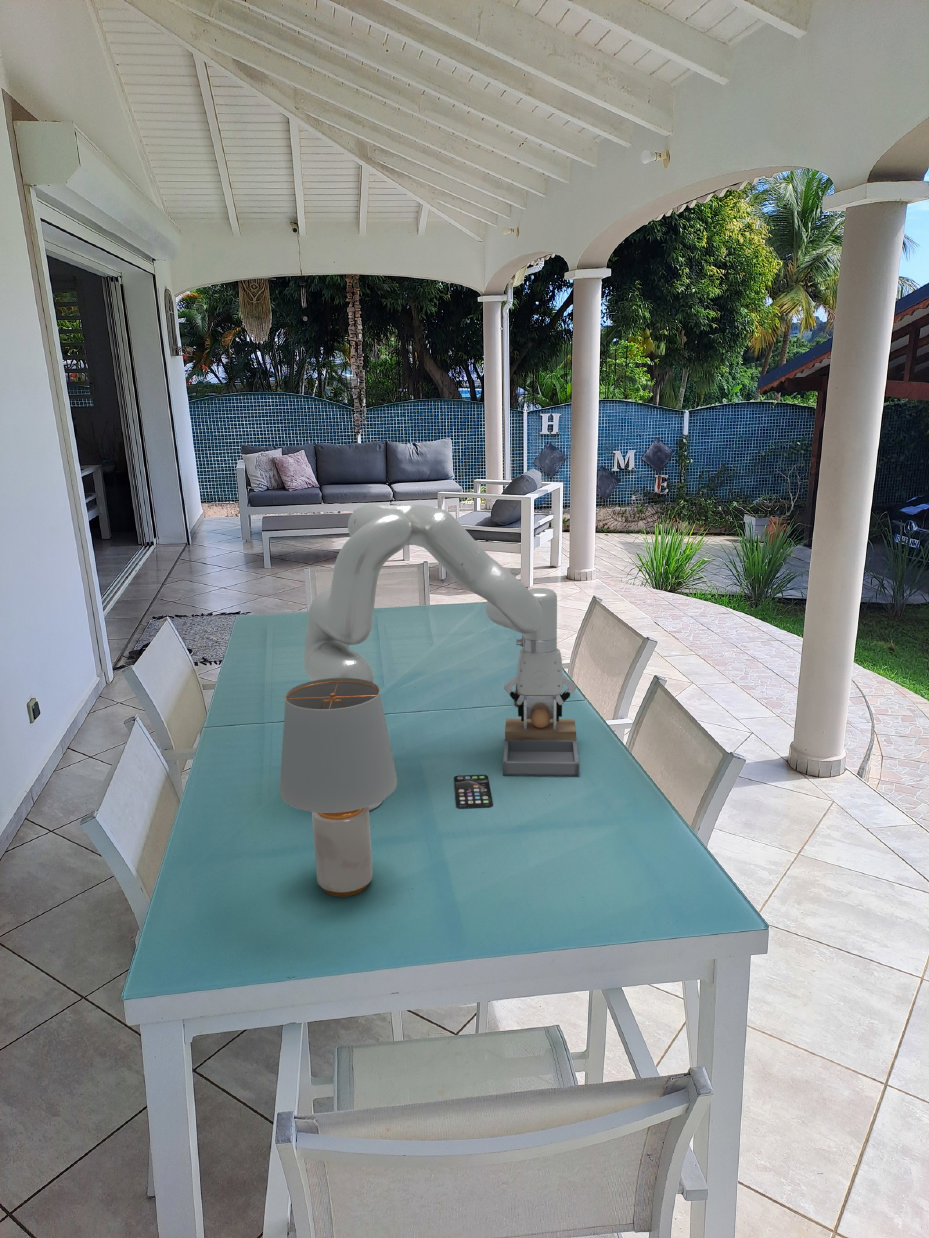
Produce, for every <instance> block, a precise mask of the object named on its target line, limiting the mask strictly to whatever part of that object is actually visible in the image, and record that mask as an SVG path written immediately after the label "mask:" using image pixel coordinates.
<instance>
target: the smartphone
mask: <svg viewBox="0 0 929 1238" xmlns="http://www.w3.org/2000/svg"><path fill="white" fill-rule="evenodd" d="M489 778H490V777H489V775H488V774H464V775H463V774H462V775H459V774H458V775H455V776H454V777H453V785H454V796H455V797H454V798H455V799H454V800H455V808H456V809H458V810H467V809H469V810H470V809H487V808H488V809H490V808H492V807H494V802H493V801H494V800H493V796H492V790H491V784H490V780H489Z"/></svg>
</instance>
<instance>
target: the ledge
mask: <svg viewBox="0 0 929 1238" xmlns="http://www.w3.org/2000/svg"><path fill="white" fill-rule="evenodd" d="M505 740H576V741H577V728H576V719H575V718H559V722H557V721H556V729H554V728H553V720H550V722H549V724H548V725H547V726H546V727H543V728H538V727H536V726H534V725H533V724H532V721H531V719H527V729H524V721H521V717H519V718H512V717H511V718H505V727H504V741H505Z"/></svg>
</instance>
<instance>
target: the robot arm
mask: <svg viewBox="0 0 929 1238" xmlns="http://www.w3.org/2000/svg"><path fill="white" fill-rule="evenodd" d="M347 531H348V535H349V536H350V537H349V538H348V540H347V541H346V542H345V543H344V544H343V546H342V547H341V548H340V550H339V553H338V554H337V556H336V559H335V563H334V567H333V573H332V578H331V579H332V580H331V585H330V586H331V587H329V588H326V589H324V590H321V591H320V592H319V593H317V595H316V596H315V597H314V599H313V600H312V602H311V603H310V606H309V610H308V613H307V620H306V621H307V622H306V631H305V632H306V633H305V640H304V641H305V642H304V652H303V666H304V670H305V673H306V676H308V677H307V678H309V680H311V681H315V680H321V679H329V678H356V679H362V680H367V681H370V682H372V683H374V674H373V669H372V667H371V666H370V664H369V662H368V661H367V660H366V659H365V658H364V657H363V656H362V655H361V654H359V653H358V652H356V651H354V650H353V649H351V648H350V645H352V646H354V645H356V646H357V645H360V644H362V643H364V642H365V641H366V640H367V639H368V638H369V636H370V634H371V632H372V628H373V623H374V611H375V603H376V601H375V600H376V592H377V585H378V580H379V575H380V572H381V570H382V568H383V566H384V565H385V564H386V562H387V561H388V560H389V559H390V558H392V557H393V556H395V554H397V553H399V552H400V551H402V550H403V549H404V548H405V547H407V546H417V547H421V548H423V549H424V550H426V551H427V552H428V553H429V554H430V556H432V557H433V558H434V560H435V561H437V562H438V564H440V566H441V567H442V568H444V571H446V572H447V573H448V574H449V575H450V576H451V577H452V579H453V580H454V581H456V582H457V583H458V585H461V587H463V588H464V589H466V590H468V591H469V592H471V593H473V594H474V595H477V596H479V597H481V598H483V599H484V600H486V601H487V602H486V603H485V612H486V616H487V618H489V620H490V621H491V622H493V624H494V623H495V624H496V625H498V626H501V627H503V628H507V629H509V630H511V631H514V632H517V633H519V634H521V635H522V634H523V637H522V636H521V638H518V639H516V640H515V641H516V646H519V647H521V648H520V650H519V653H518V658H517V668H518V669H517V672H516V675H515V676H513V678H511V679H510V680H509V681H508V682H506V683H505V684H504V685H503V690H504V691H505V692H506V693H507V694H508V695H509V696H510V698H511V699H512V700H513V702H514V701H516V702H517V704H518V707H517V716H518V717H519V718H520V719H521V721H524V701H523V700H524V697H526V696H554V697H556V721H557V722H559V719H560V717H561V718H562V717H563V704H564V703H565V702H566V701H567V700H568V699H569V698H570V697H571V695H572V694H573V693H574V692H575V691H576V690H577V685H576V684H575V682H573V681H571V680H570V679H569V678H567V677H566V676H564V673H563V672H564V671H563V669H564V668H563V659H562V655H561V653H562V652H561V650H560V648H559V647H558V595H557V593H556V592H555V590H553V589H550V588H545V587H534V588H530V589H529V588H527V586H525V584H524V583H522V581H520V580H519V579H518V578H517V577H516V576H515V575H514V574H512V573H511V572H510V571H509V570H507V569H506V568H504V567H503V565H501V564H500V562H498V561H497V560H496V559H494V558H493V557H491V556H490V555H489V554H488V553H487V551H485V549H483V548H482V546H481V545H480V544H479V543H478V542H477V540H475V539H474V538H473V537H472V536H471V534H470V533H469V532H468V531H467V530H466V529H465V527H464V526H463V525H462V524H461V523H460V521H458V520H457V519H456V517H454V515H452V514H451V513H450V512H449V511H447V510H445V509H442V508H439V507H435V506H429V505H424V504H365V505H362V506H359V507H357V508H356V509H355V510H353V512H352V513H351V514H350V516H349V518H348V522H347ZM516 684H517V690H518V693H519V695H518V694H517V693H516V690H514V689H513V687H514V686H516ZM564 686H566V687H567V689H566V690H565V691H563V690H564V689H563V688H564ZM383 802H384V800H382V801H380V802H378V803H376V804H374V805H371V806H369V812H370V811H372V810H374V809H376V808H378V807H379V806H380V805H381V804H382V803H383Z"/></svg>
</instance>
